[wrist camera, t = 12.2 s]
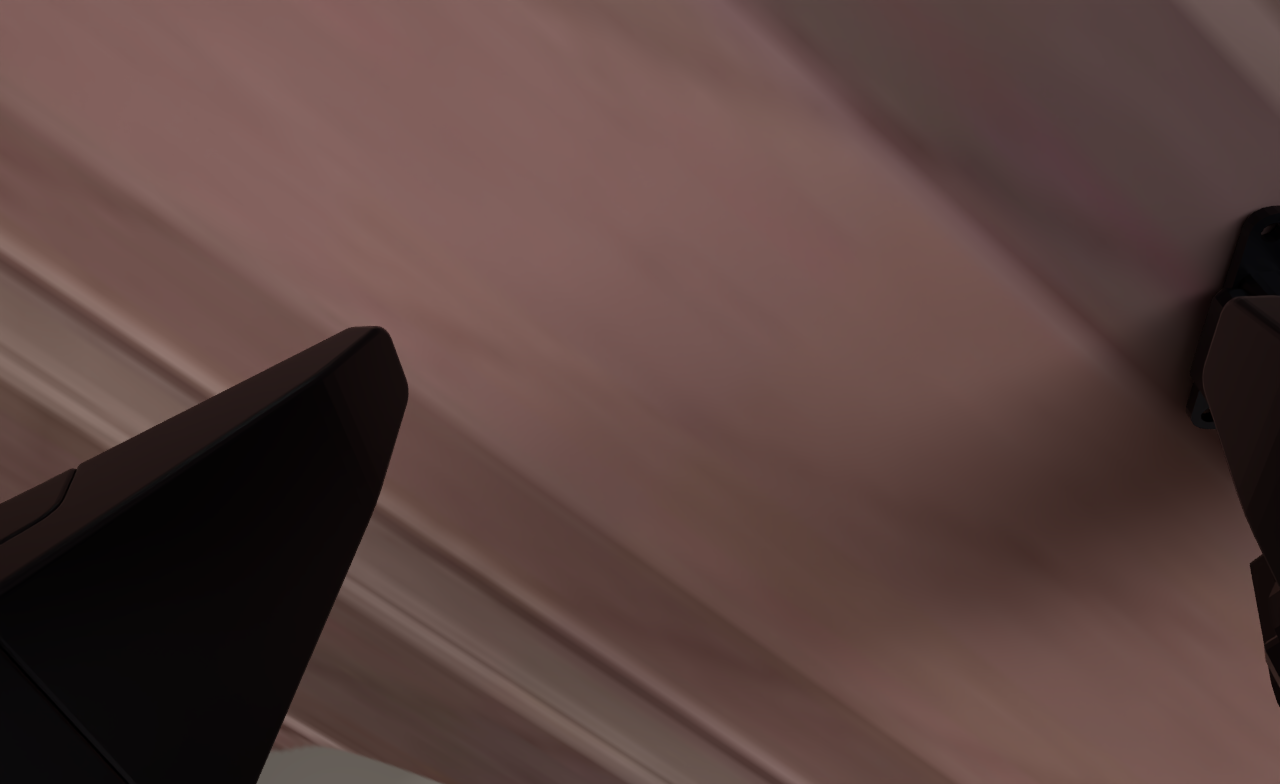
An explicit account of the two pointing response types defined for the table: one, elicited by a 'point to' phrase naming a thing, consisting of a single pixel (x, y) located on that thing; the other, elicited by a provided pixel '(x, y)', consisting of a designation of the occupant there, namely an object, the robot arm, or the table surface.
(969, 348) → the table surface
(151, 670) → the robot arm
